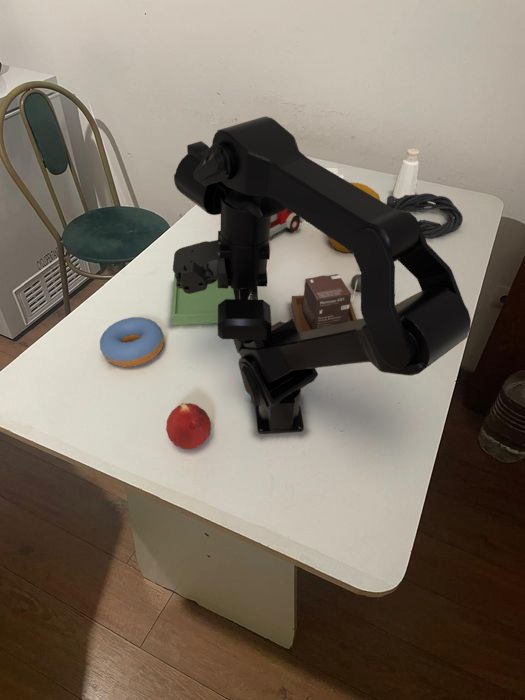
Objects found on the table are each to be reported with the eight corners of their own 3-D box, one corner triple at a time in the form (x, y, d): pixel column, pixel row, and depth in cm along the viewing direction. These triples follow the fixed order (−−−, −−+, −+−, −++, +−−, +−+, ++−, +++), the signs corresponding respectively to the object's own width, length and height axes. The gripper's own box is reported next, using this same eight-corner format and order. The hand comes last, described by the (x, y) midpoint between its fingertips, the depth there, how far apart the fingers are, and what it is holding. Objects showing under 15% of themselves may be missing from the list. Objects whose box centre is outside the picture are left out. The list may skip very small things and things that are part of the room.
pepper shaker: (418, 194, 124) (429, 148, 116) (410, 203, 121) (420, 157, 113) (397, 188, 126) (406, 143, 119) (388, 197, 123) (397, 151, 115)
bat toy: (343, 312, 91) (347, 291, 88) (355, 265, 102) (359, 245, 98) (360, 315, 91) (364, 294, 87) (370, 268, 101) (374, 247, 98)
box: (313, 334, 86) (316, 299, 81) (301, 312, 90) (304, 278, 85) (346, 328, 87) (352, 293, 82) (333, 306, 91) (338, 272, 86)
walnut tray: (359, 340, 86) (360, 331, 84) (298, 343, 85) (299, 334, 84) (346, 302, 93) (348, 293, 92) (291, 305, 93) (291, 295, 91)
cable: (462, 215, 117) (467, 198, 114) (456, 247, 107) (462, 228, 104) (386, 202, 121) (390, 184, 118) (375, 231, 111) (378, 213, 108)
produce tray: (243, 322, 89) (243, 312, 87) (172, 325, 88) (171, 315, 87) (240, 280, 98) (239, 271, 96) (175, 282, 97) (174, 273, 95)
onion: (212, 426, 73) (209, 388, 67) (211, 460, 68) (207, 423, 63) (171, 426, 72) (165, 388, 67) (167, 461, 68) (160, 423, 63)
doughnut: (98, 339, 85) (92, 317, 82) (158, 325, 88) (154, 304, 85) (107, 380, 79) (101, 359, 75) (171, 364, 81) (168, 343, 78)
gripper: (180, 188, 65) (185, 283, 77) (168, 282, 53) (177, 379, 64) (267, 191, 66) (259, 284, 78) (276, 284, 54) (266, 379, 65)
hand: (240, 327), depth 71 cm, fingers open, 9 cm apart
